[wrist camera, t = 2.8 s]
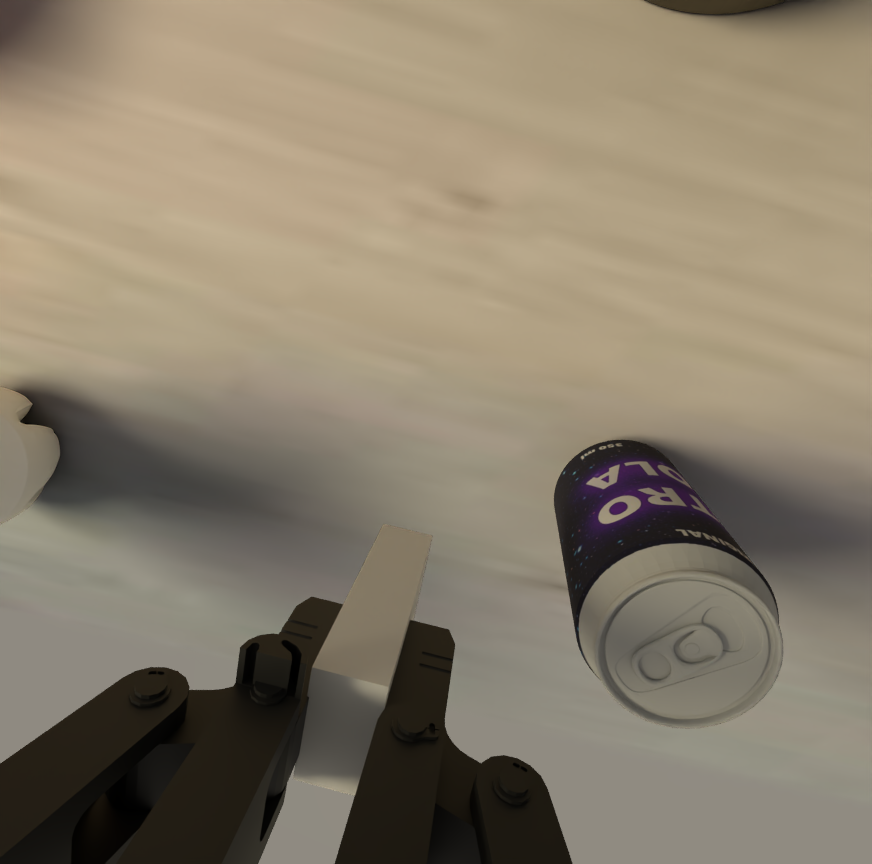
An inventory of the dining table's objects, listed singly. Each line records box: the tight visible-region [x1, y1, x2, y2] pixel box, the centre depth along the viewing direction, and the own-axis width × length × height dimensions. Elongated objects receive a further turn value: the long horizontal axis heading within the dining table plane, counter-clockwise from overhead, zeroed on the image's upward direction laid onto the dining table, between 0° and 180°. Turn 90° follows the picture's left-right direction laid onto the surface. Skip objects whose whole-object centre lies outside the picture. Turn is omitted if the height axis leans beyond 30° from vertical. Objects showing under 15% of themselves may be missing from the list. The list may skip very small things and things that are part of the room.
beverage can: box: [554, 440, 783, 729], centre depth 21 cm, size 6×6×12 cm
